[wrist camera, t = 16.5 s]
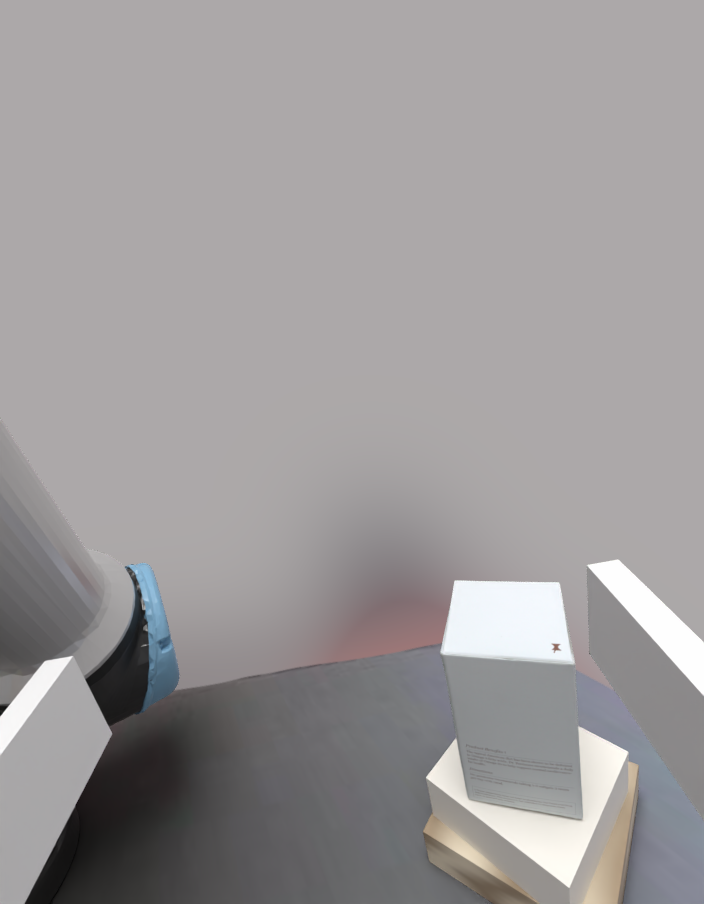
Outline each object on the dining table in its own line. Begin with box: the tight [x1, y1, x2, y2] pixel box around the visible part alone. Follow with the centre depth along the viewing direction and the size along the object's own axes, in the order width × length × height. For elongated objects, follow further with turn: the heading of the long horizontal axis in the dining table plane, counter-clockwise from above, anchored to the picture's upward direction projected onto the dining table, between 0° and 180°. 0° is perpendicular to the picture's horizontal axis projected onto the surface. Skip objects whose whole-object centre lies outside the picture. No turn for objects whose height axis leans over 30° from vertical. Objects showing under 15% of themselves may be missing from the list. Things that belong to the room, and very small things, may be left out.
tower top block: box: [426, 726, 628, 904], centre depth 33 cm, size 10×10×4 cm
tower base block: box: [423, 761, 639, 904], centre depth 35 cm, size 12×12×4 cm
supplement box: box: [440, 580, 583, 819], centre depth 31 cm, size 7×7×13 cm
